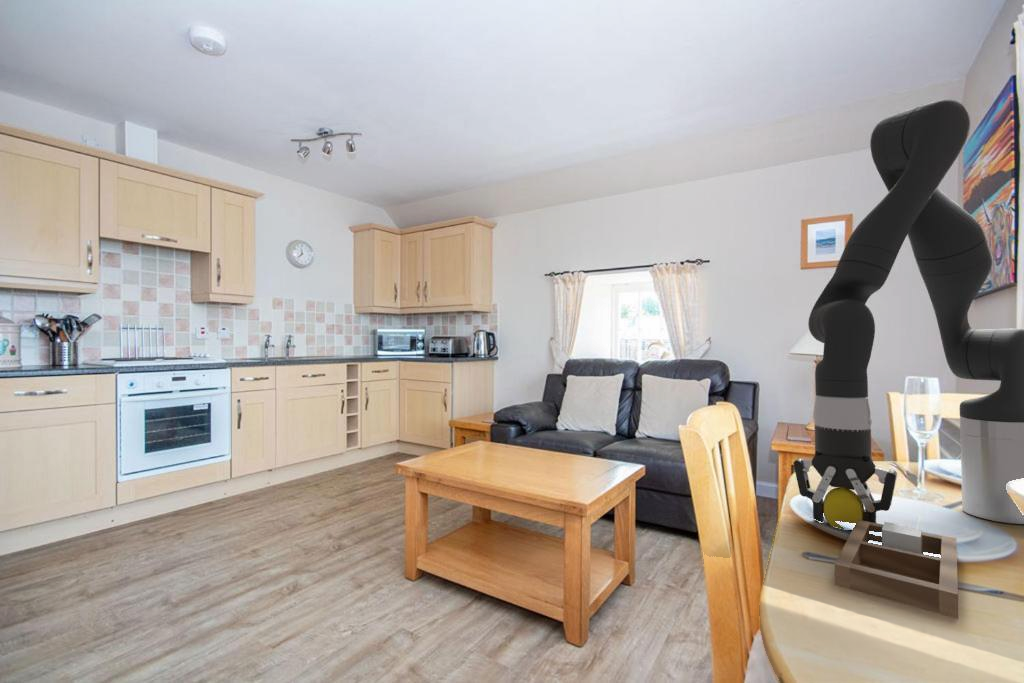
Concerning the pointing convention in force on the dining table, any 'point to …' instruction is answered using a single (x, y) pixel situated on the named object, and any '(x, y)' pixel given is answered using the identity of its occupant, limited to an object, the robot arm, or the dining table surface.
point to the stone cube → (902, 537)
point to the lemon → (842, 507)
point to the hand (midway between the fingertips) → (844, 528)
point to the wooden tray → (901, 570)
